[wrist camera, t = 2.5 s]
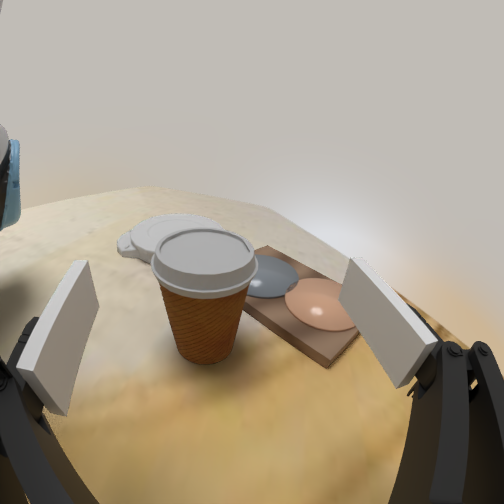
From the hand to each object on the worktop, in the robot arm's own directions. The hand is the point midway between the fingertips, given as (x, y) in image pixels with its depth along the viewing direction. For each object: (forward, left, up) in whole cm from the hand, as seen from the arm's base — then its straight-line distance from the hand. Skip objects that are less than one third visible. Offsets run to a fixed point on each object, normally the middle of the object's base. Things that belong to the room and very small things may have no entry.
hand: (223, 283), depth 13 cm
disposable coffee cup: (-9, +5, -16) cm, 19 cm away
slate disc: (-13, +19, -14) cm, 27 cm away
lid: (-32, +14, -16) cm, 39 cm away
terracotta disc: (-3, +21, -14) cm, 25 cm away
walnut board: (-8, +20, -15) cm, 27 cm away
